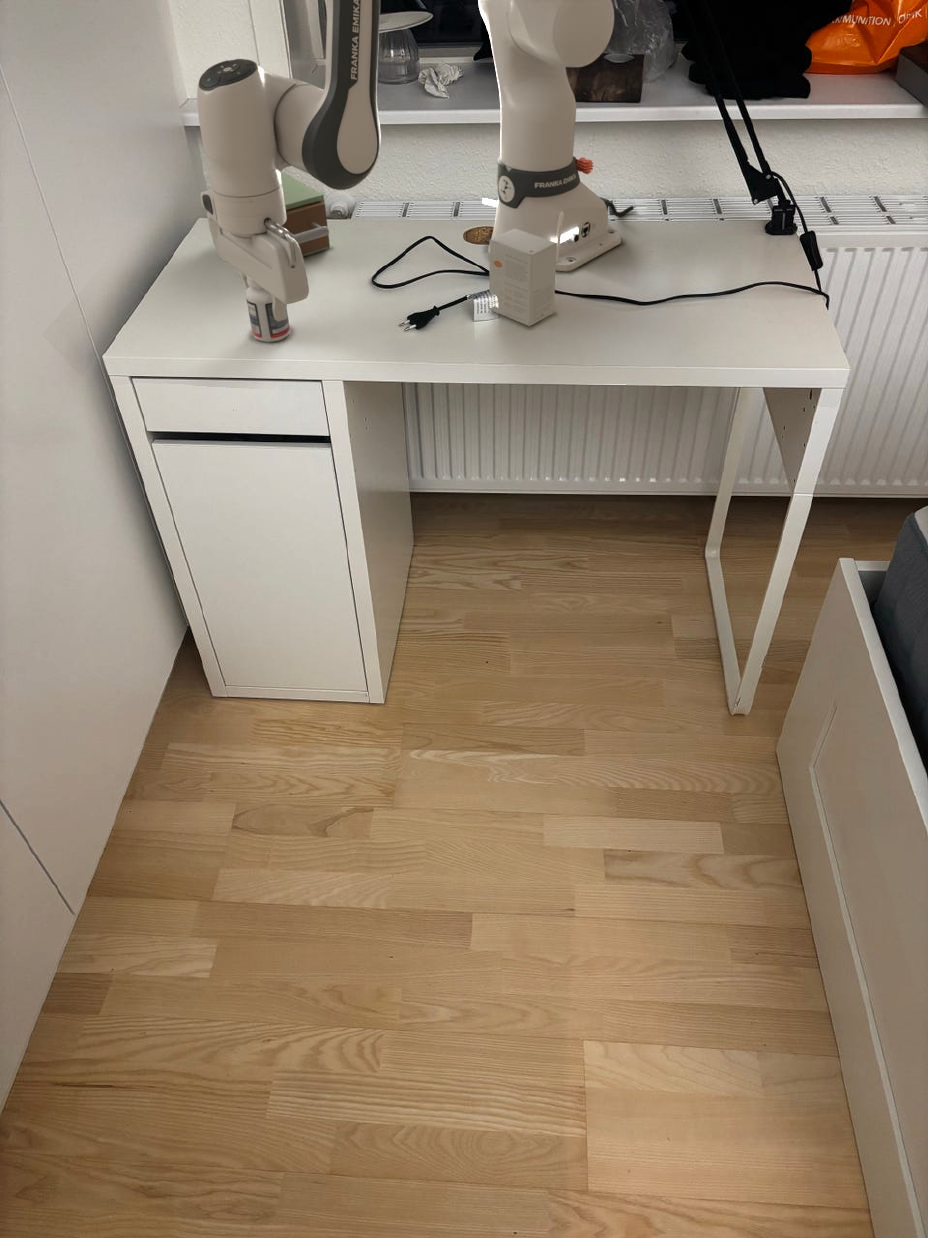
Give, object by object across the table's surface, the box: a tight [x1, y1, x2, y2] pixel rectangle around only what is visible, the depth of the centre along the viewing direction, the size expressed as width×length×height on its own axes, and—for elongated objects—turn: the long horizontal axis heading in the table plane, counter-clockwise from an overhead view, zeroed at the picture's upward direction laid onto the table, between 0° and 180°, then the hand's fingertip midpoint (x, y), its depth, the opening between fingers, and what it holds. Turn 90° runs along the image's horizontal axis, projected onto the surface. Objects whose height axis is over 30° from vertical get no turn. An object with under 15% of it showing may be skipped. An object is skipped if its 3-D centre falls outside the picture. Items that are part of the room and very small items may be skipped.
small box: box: [488, 229, 557, 327], centre depth 131 cm, size 8×6×10 cm
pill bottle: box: [245, 275, 291, 343], centre depth 127 cm, size 5×5×9 cm
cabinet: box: [281, 171, 330, 257], centre depth 149 cm, size 13×12×9 cm
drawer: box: [281, 202, 331, 255], centre depth 147 cm, size 16×10×7 cm, turn 38°
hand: (267, 309), depth 128 cm, fingers closed on pill bottle, 5 cm apart
